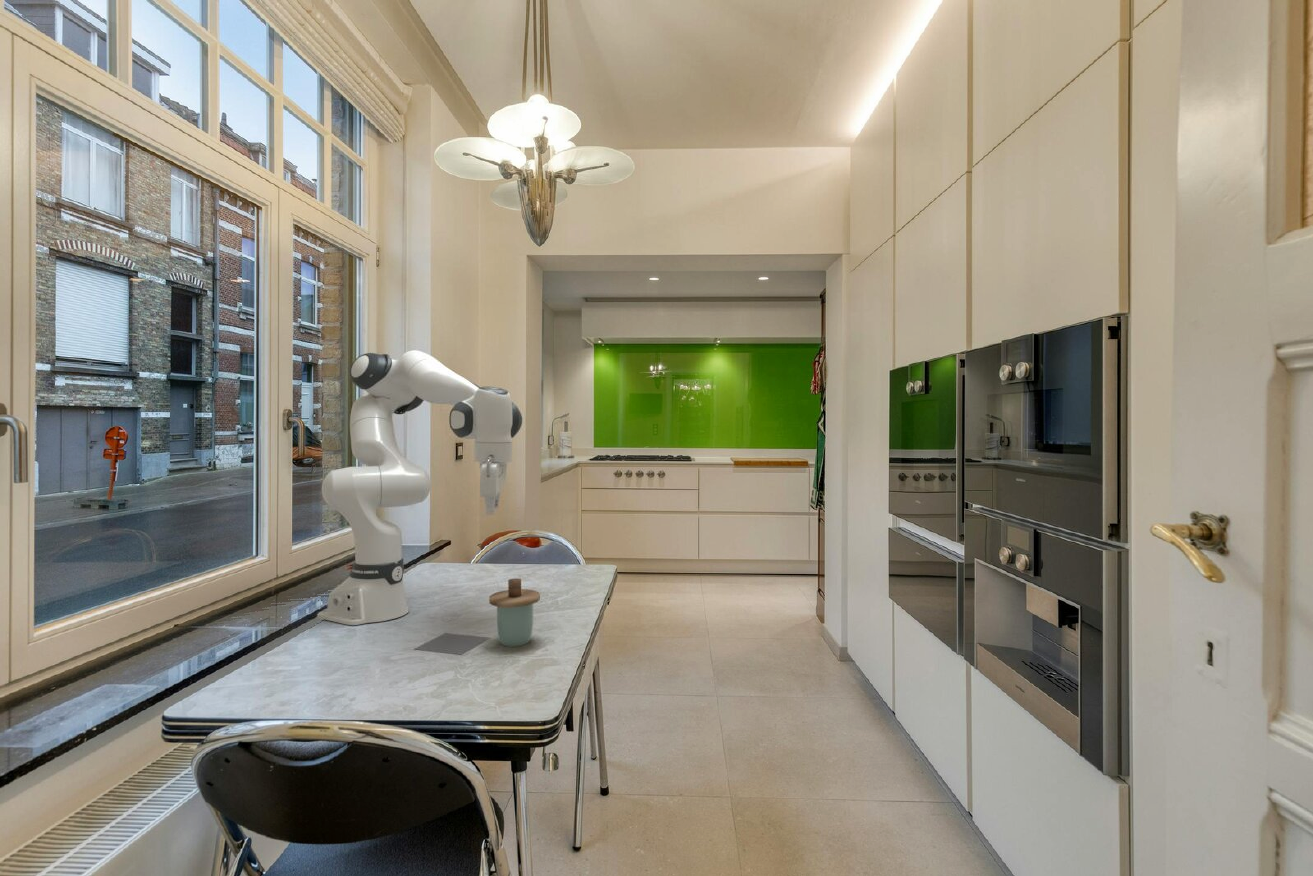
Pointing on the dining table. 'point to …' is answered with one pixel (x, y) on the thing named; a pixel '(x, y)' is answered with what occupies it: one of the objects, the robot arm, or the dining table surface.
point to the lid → (514, 596)
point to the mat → (452, 643)
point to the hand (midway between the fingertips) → (492, 511)
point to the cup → (515, 625)
